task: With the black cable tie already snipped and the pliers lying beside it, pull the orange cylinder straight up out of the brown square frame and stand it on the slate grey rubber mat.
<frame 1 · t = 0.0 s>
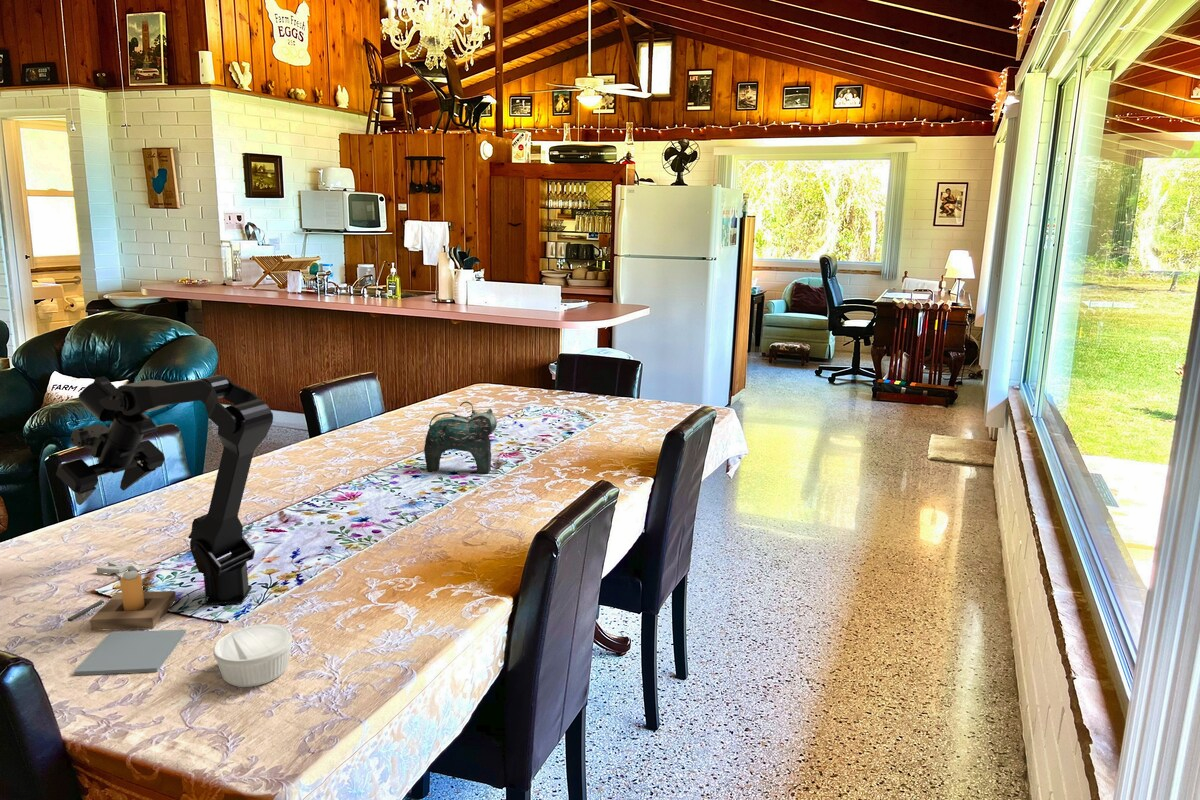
hand: (100, 496, 158), 15 cm above the table, tool tilted 35°, fingers open, 9 cm apart
brown square frame: (135, 615, 143), on the table
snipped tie: (86, 611, 144), on the table
rubber mat: (133, 652, 131), on the table
ramekin: (255, 672, 127), on the table
orange cylinder: (132, 594, 142), in the brown square frame
pliers: (135, 577, 159), on the table
green animal figurine: (460, 471, 226), on the table
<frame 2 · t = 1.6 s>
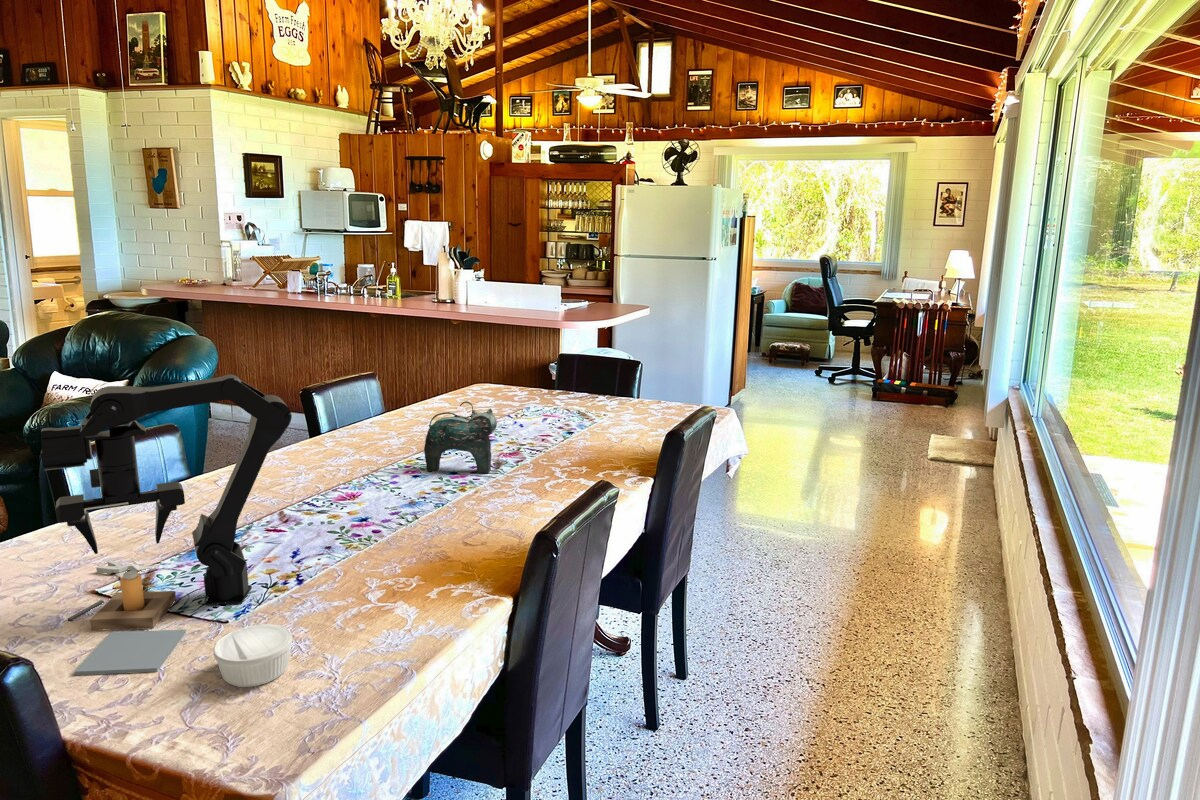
hand: (127, 547, 140), 13 cm above the table, tool pointing down, fingers open, 9 cm apart
nothing on the table moved.
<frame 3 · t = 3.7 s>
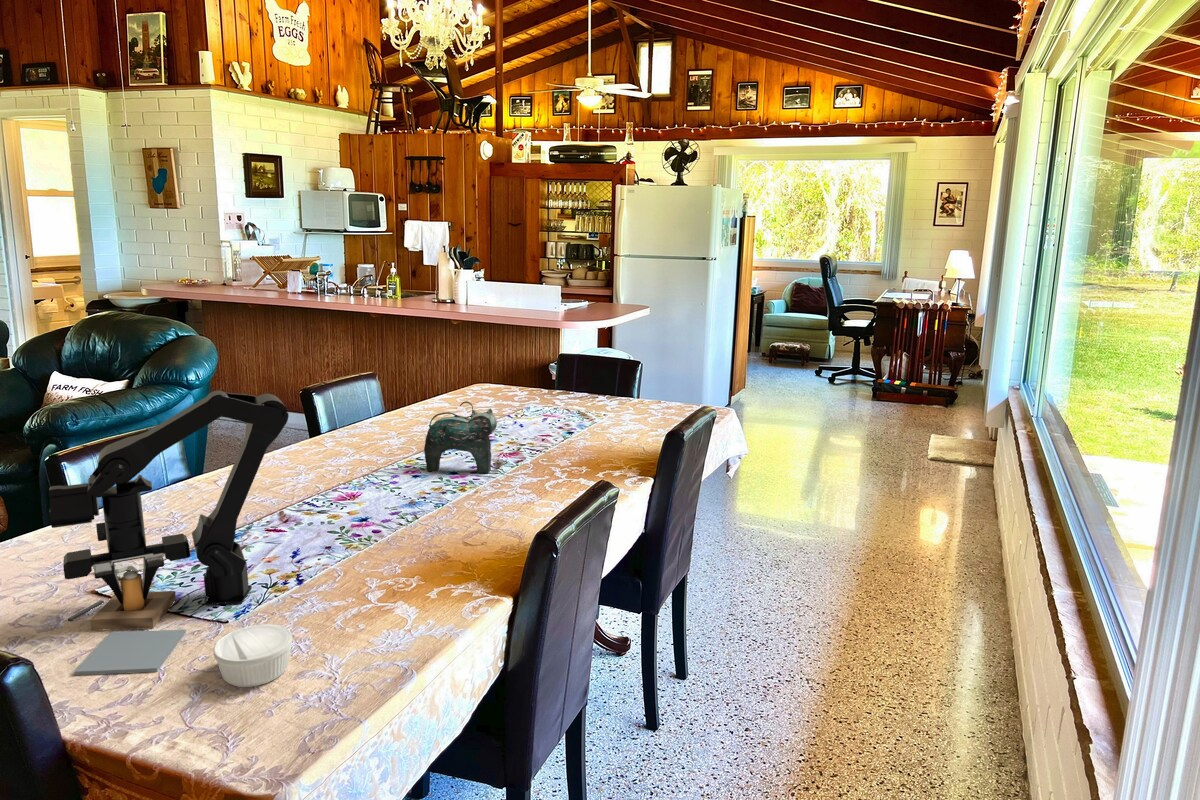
hand: (133, 600, 142), 3 cm above the table, tool pointing down, fingers closed on orange cylinder, 3 cm apart
orange cylinder: (132, 594, 142), in the brown square frame, touching gripper
everything else where it was.
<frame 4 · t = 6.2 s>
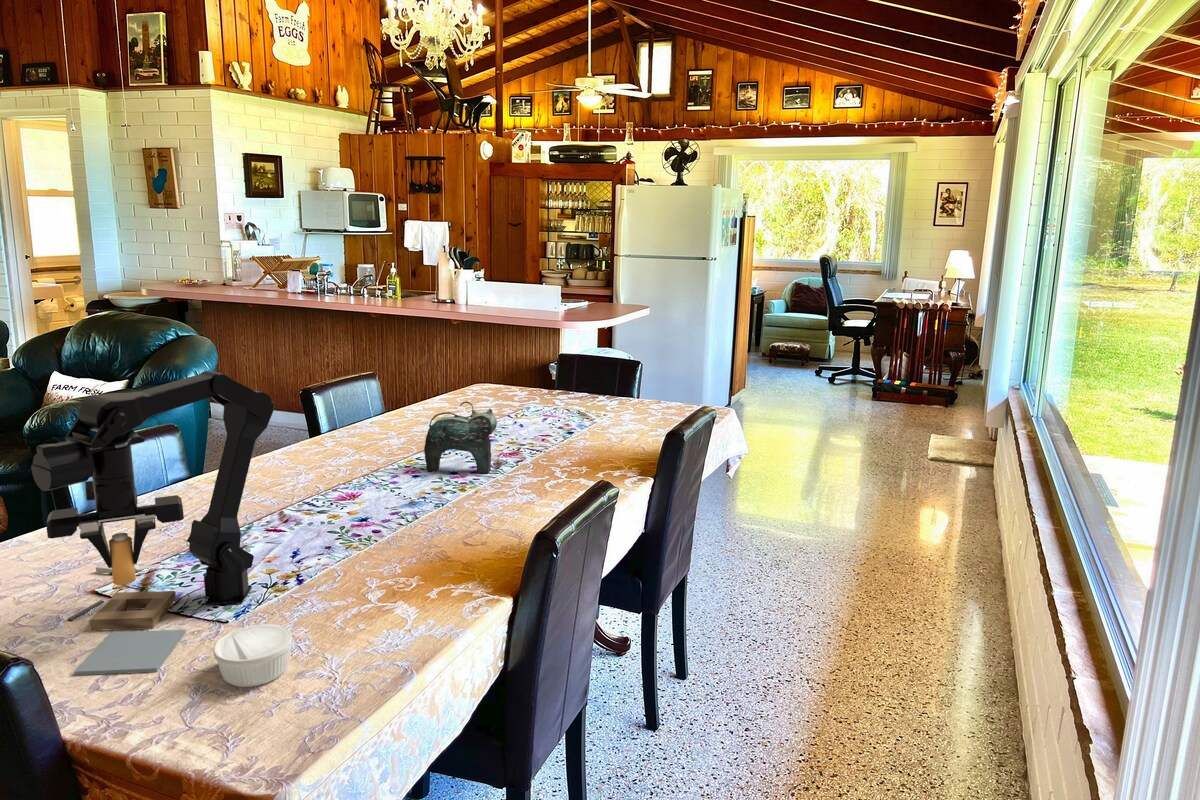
hand: (122, 565, 132), 13 cm above the table, tool pointing down, fingers closed on orange cylinder, 3 cm apart
orange cylinder: (122, 558, 132), point 14 cm above the table, touching gripper
everything else where it was.
when the fingers open (4 cm above the table, at t = 8.8 s): orange cylinder stays where it is, resting on rubber mat.
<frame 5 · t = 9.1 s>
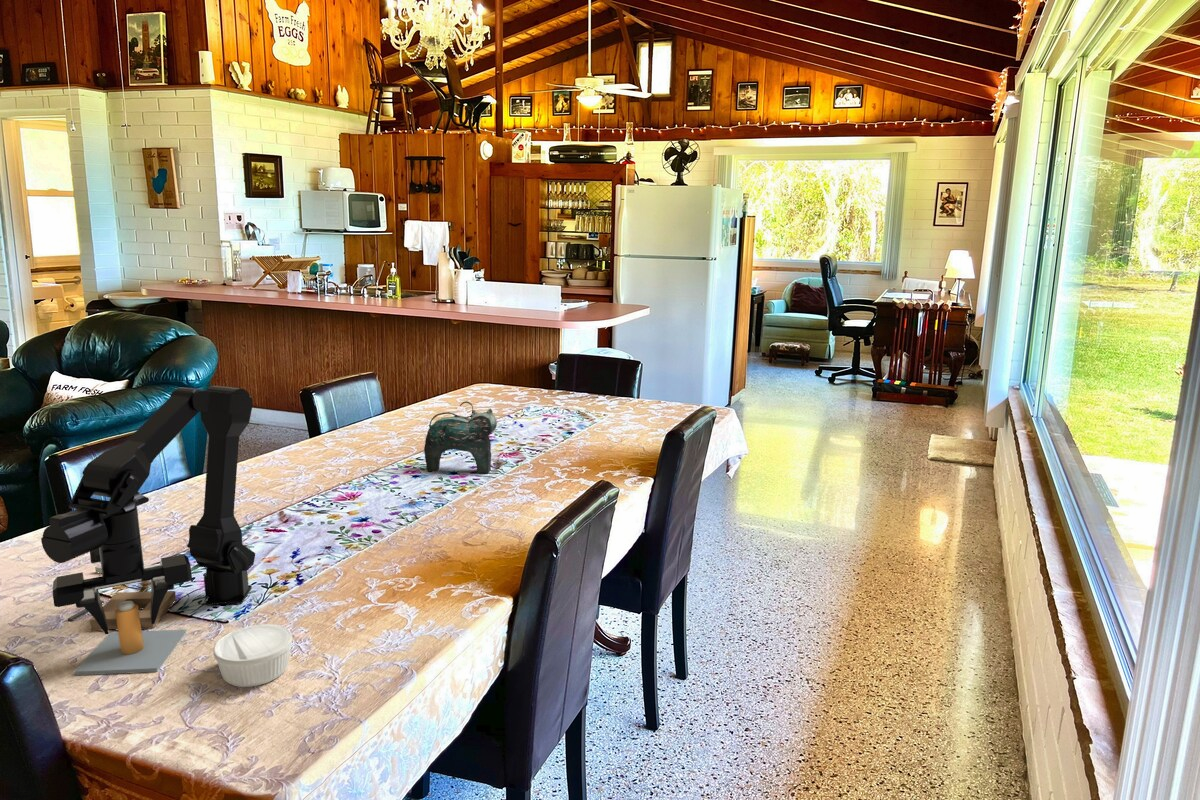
hand: (130, 628, 130), 4 cm above the table, tool pointing down, fingers open, 6 cm apart
orange cylinder: (129, 626, 130), on the rubber mat, point 5 cm above the table
everything else where it was.
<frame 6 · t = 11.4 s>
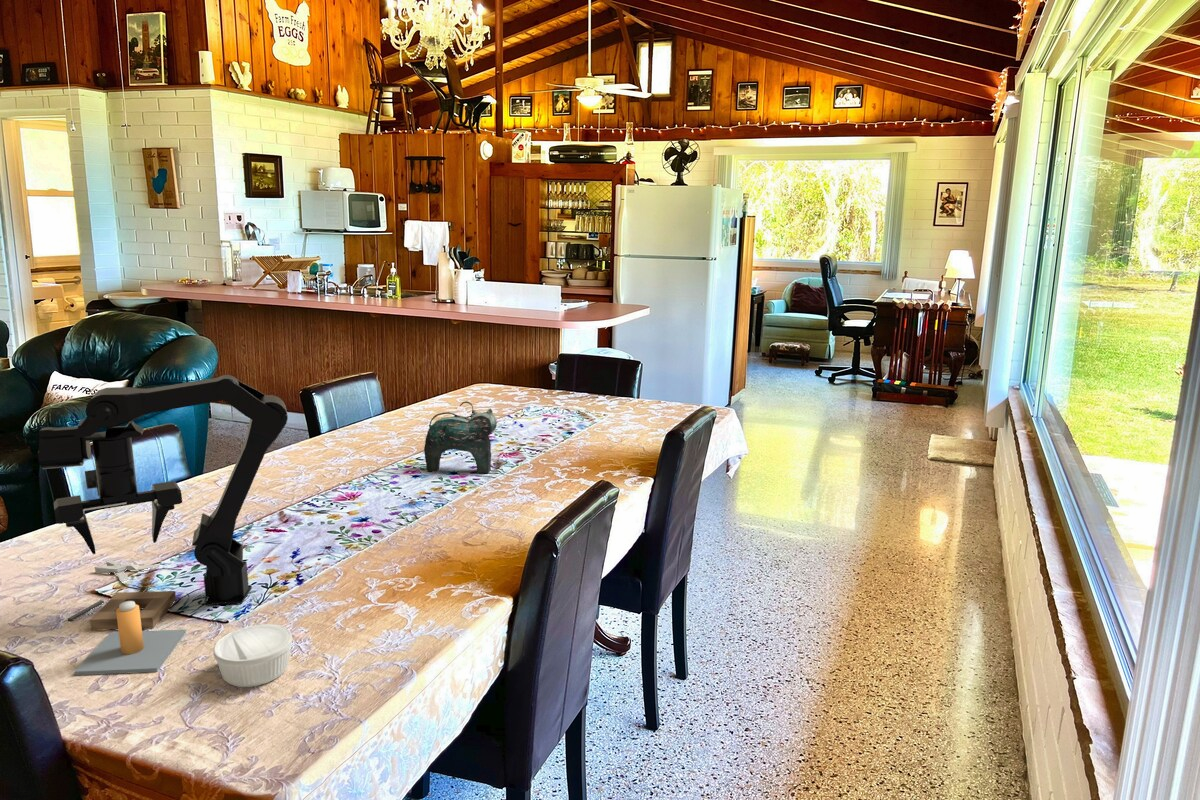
hand: (124, 547, 142), 12 cm above the table, tool pointing down, fingers open, 9 cm apart
nothing on the table moved.
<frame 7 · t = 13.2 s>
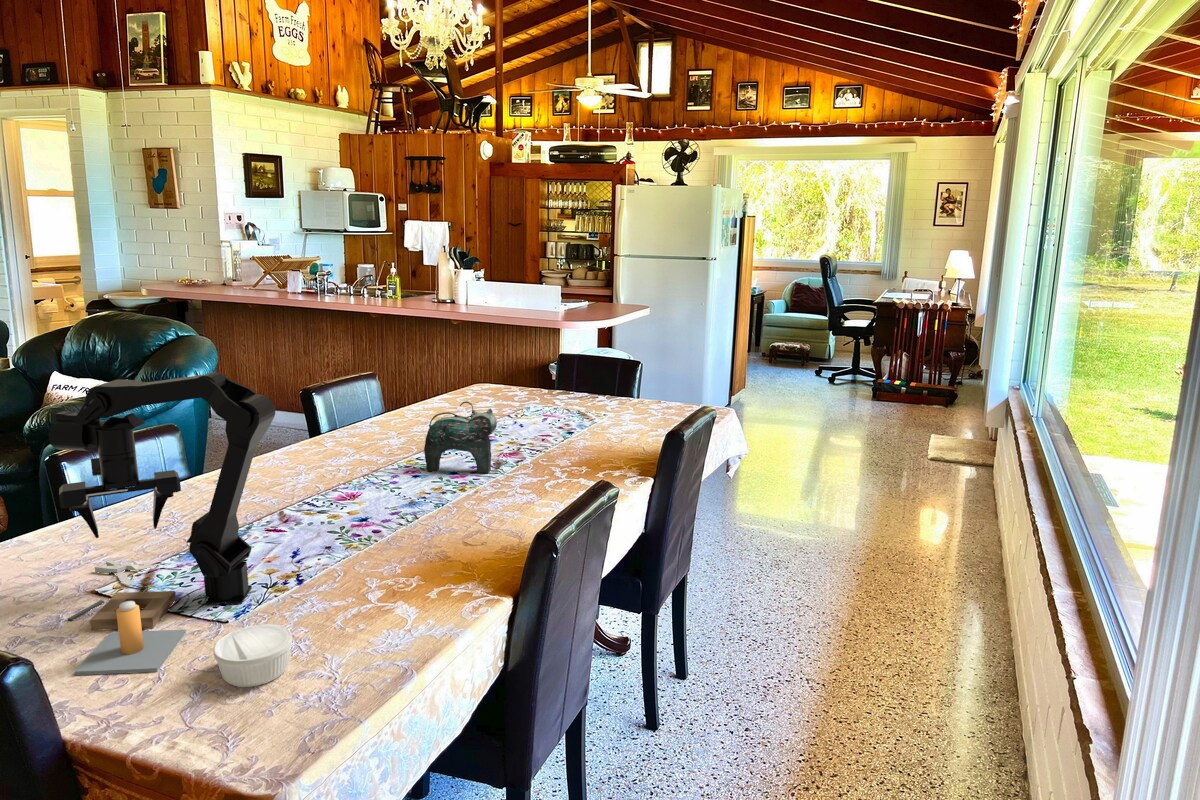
hand: (126, 532, 148), 12 cm above the table, tool pointing down, fingers open, 9 cm apart
nothing on the table moved.
at the end: orange cylinder inside the target area on the rubber mat (0.0 cm from its centre), point 4.6 cm above the rubber mat's base; orange cylinder tilted 0°; the gripper is holding nothing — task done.
